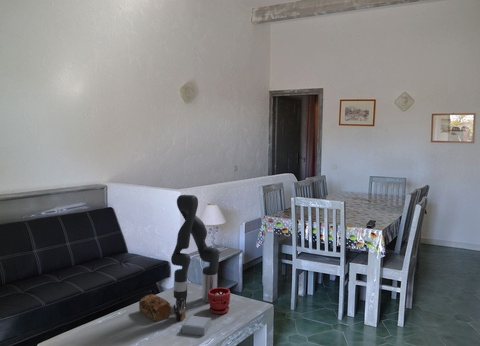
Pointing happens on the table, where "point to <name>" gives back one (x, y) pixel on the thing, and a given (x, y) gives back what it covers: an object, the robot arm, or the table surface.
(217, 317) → the table surface
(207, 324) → the pedestal
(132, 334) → the table surface
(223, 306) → the plant pot
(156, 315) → the bread
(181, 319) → the walnut cube
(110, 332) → the table surface
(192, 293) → the table surface
